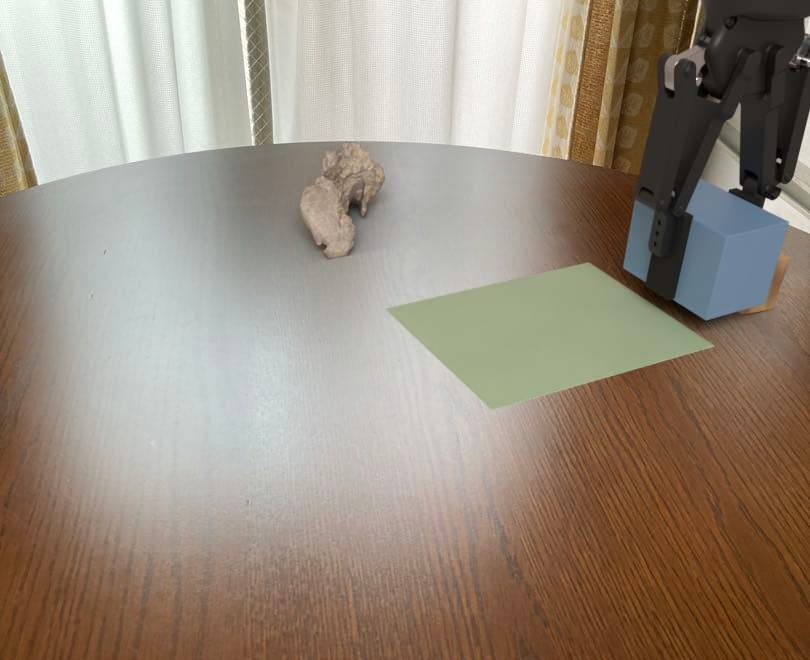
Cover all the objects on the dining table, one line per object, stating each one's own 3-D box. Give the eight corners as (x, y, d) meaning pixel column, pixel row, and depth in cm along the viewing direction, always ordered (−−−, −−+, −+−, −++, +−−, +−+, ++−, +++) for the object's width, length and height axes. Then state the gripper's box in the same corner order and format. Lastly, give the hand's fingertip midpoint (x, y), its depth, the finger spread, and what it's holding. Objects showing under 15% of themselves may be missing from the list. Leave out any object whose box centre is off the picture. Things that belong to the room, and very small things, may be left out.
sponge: (765, 304, 71) (789, 221, 67) (705, 320, 69) (726, 237, 65) (679, 254, 78) (696, 176, 73) (622, 268, 75) (636, 188, 71)
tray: (586, 274, 81) (588, 261, 80) (711, 359, 71) (715, 345, 70) (384, 322, 74) (384, 308, 73) (490, 424, 63) (492, 409, 62)
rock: (285, 253, 82) (280, 173, 78) (335, 195, 93) (333, 121, 88) (347, 262, 81) (346, 181, 77) (391, 203, 92) (393, 128, 87)
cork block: (695, 293, 78) (734, 287, 80) (733, 317, 75) (772, 309, 77) (711, 242, 75) (751, 236, 77) (751, 264, 72) (791, 257, 74)
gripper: (835, -80, 64) (748, 243, 79) (615, -60, 57) (567, 288, 72) (926, -62, 59) (814, 278, 74) (698, -39, 52) (627, 330, 67)
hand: (692, 282), depth 73 cm, fingers closed on sponge, 6 cm apart
